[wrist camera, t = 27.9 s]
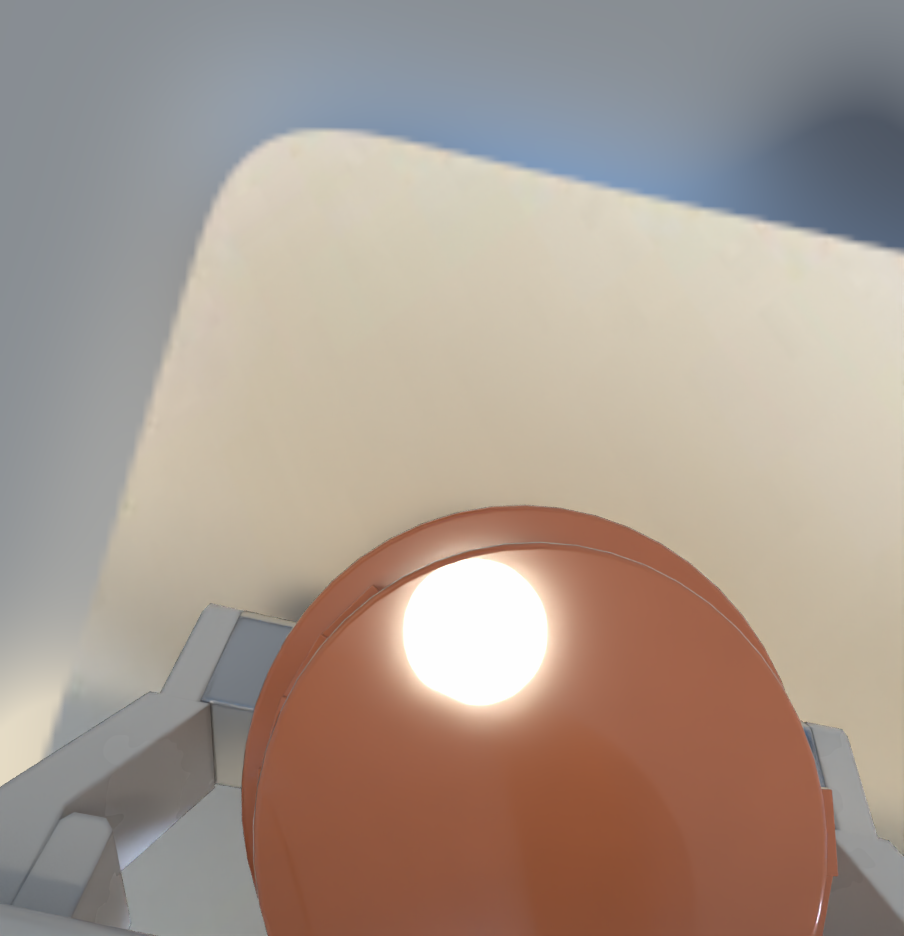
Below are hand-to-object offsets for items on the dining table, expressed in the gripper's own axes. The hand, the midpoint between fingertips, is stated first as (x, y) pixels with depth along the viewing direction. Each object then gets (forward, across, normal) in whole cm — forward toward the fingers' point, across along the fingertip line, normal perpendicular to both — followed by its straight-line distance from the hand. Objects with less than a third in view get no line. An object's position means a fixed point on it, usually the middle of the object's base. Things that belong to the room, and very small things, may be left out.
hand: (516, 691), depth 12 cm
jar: (+4, 0, -4) cm, 6 cm away
